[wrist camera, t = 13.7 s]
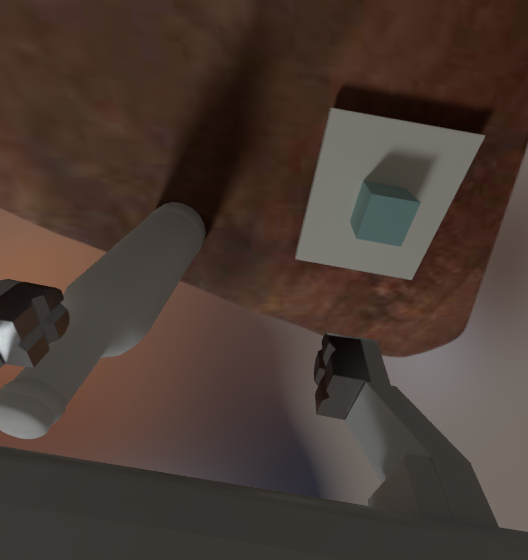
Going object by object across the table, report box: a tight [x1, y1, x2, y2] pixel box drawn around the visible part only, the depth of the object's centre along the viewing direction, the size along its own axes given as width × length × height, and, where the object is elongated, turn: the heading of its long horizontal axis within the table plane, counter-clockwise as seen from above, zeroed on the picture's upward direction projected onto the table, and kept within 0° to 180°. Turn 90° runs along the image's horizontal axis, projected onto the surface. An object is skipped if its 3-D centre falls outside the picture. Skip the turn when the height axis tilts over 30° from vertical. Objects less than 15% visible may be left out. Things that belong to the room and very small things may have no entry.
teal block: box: [350, 181, 421, 247], centre depth 34 cm, size 5×5×5 cm
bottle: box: [0, 202, 206, 439], centre depth 31 cm, size 8×8×30 cm
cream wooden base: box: [296, 107, 485, 280], centre depth 37 cm, size 18×16×3 cm
